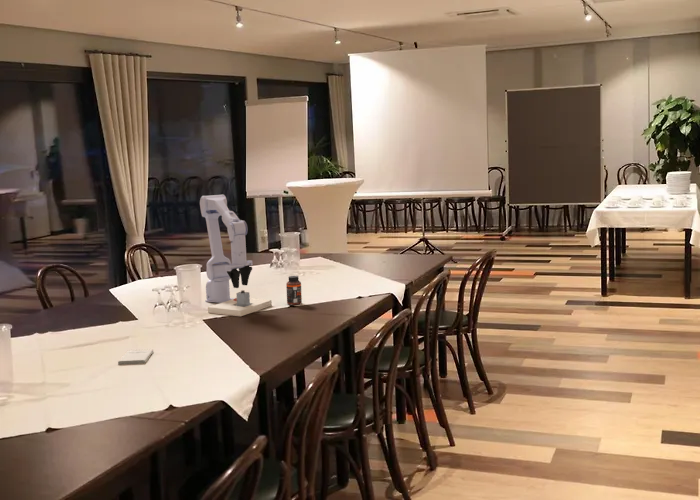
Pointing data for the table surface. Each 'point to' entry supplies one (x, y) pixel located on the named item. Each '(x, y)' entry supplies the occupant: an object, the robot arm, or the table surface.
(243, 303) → the plug
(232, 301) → the socket plate
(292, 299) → the supplement bottle
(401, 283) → the table surface
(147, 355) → the external hard drive
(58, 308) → the table surface
